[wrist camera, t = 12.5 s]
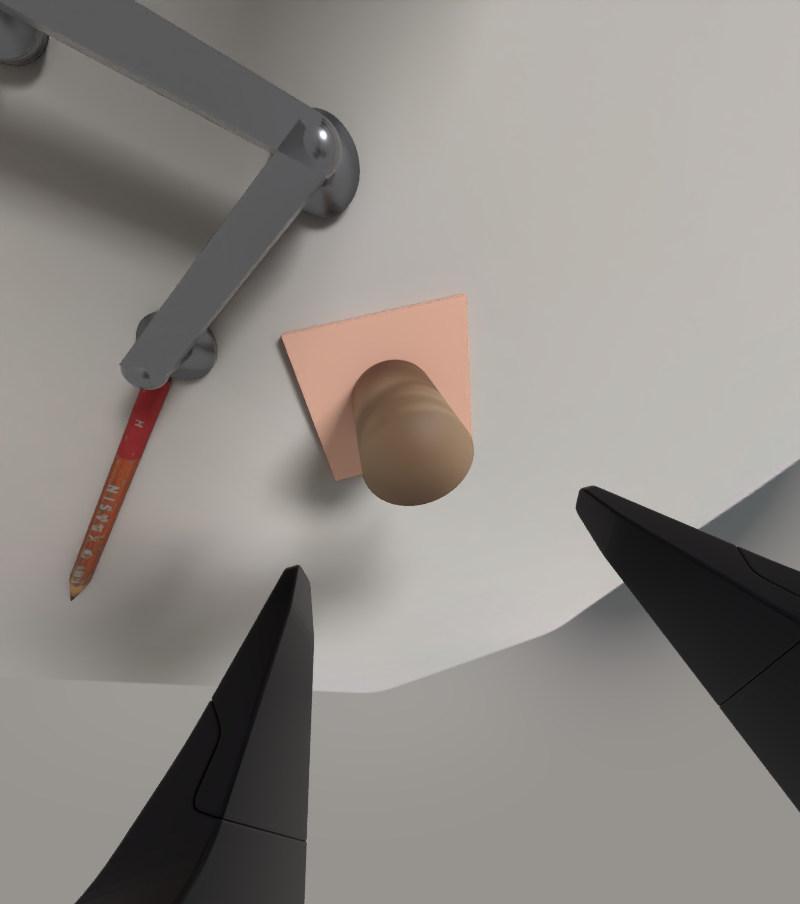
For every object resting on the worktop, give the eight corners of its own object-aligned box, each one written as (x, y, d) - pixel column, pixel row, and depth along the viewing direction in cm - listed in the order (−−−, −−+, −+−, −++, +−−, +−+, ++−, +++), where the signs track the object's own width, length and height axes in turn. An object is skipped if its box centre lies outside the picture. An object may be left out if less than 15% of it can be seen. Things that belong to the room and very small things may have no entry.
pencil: (151, 364, 15) (142, 372, 14) (176, 376, 16) (169, 384, 15) (66, 592, 22) (57, 605, 21) (85, 595, 22) (77, 608, 22)
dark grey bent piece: (299, -164, 8) (281, -432, 5) (388, 332, 16) (405, 358, 13) (-146, -111, 8) (-512, -379, 4) (167, 382, 15) (121, 423, 12)
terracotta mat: (462, 293, 16) (466, 295, 15) (469, 442, 21) (472, 446, 21) (282, 333, 15) (281, 336, 15) (335, 476, 20) (335, 481, 20)
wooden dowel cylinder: (428, 350, 16) (472, 398, 12) (436, 425, 19) (475, 490, 14) (341, 370, 16) (348, 428, 11) (362, 444, 19) (375, 516, 14)
